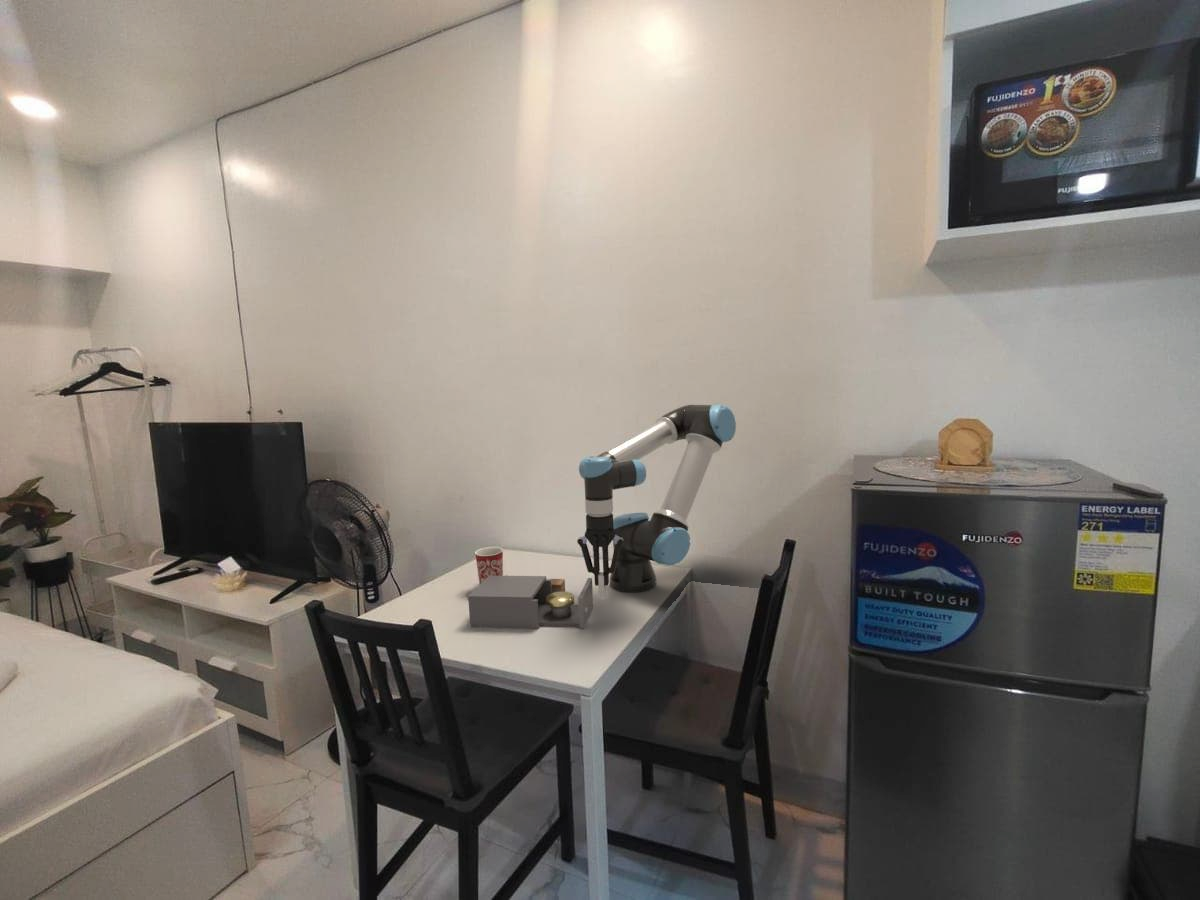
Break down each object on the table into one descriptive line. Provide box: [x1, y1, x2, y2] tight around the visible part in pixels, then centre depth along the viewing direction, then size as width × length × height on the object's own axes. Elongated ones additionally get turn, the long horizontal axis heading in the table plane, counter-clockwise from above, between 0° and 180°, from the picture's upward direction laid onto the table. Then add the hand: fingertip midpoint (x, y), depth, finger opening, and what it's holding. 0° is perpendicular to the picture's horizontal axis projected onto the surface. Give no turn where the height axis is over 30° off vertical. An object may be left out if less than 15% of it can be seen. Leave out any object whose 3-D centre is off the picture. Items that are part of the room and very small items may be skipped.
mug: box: [474, 546, 504, 585], centre depth 175 cm, size 13×9×14 cm
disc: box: [546, 591, 575, 609], centre depth 151 cm, size 8×8×2 cm
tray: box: [538, 577, 594, 630], centre depth 152 cm, size 20×15×8 cm
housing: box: [467, 575, 552, 630], centre depth 154 cm, size 20×16×9 cm
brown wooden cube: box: [550, 578, 566, 593], centre depth 166 cm, size 5×5×5 cm
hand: (602, 596), depth 149 cm, fingers closed
